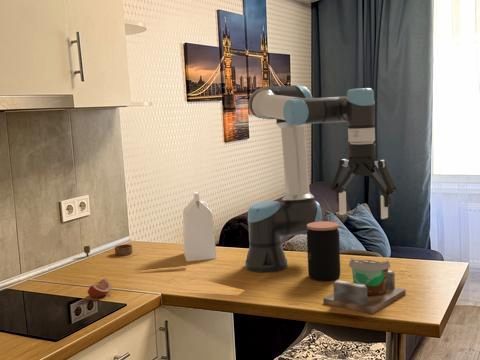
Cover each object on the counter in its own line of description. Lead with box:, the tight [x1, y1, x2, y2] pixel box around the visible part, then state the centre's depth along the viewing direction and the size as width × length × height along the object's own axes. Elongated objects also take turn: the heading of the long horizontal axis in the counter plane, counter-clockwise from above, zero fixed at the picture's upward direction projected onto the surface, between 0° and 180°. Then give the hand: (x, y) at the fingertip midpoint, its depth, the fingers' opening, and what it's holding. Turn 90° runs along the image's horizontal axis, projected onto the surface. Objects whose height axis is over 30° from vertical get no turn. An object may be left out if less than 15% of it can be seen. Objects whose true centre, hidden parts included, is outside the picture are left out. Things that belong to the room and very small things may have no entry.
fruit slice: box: [87, 278, 112, 298], centre depth 187 cm, size 8×7×5 cm
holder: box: [322, 269, 407, 315], centre depth 172 cm, size 16×20×7 cm
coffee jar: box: [306, 220, 341, 282], centre depth 195 cm, size 11×11×18 cm
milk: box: [182, 191, 217, 262], centre depth 228 cm, size 12×12×26 cm
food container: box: [348, 256, 391, 296], centre depth 172 cm, size 12×6×10 cm, turn 58°
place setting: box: [83, 244, 138, 259], centre depth 239 cm, size 18×20×6 cm
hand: (363, 216), depth 170 cm, fingers open, 13 cm apart
